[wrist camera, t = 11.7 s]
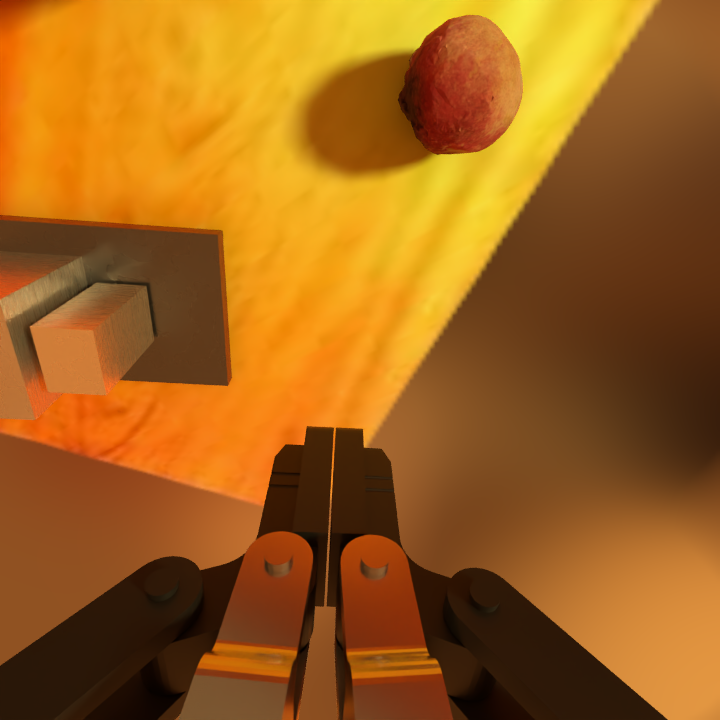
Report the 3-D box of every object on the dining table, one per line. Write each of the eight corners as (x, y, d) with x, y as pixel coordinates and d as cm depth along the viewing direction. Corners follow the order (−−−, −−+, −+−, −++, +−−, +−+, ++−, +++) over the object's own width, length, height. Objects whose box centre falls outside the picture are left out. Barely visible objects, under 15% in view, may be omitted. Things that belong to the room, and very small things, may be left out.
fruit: (509, 130, 35) (549, 134, 28) (412, 167, 36) (427, 180, 29) (487, 11, 32) (527, -19, 25) (381, 56, 33) (389, 40, 26)
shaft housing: (-109, 207, 37) (-284, 242, 27) (222, 230, 38) (175, 272, 28) (-50, 362, 43) (-173, 438, 33) (231, 377, 45) (196, 454, 34)
